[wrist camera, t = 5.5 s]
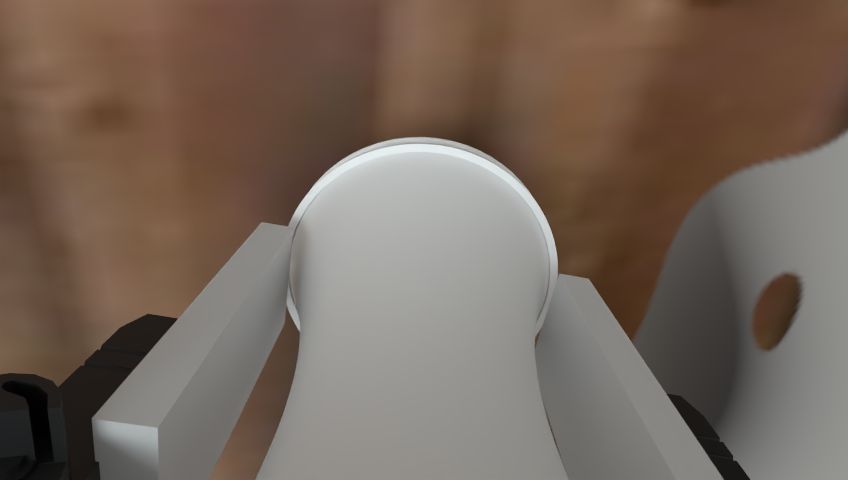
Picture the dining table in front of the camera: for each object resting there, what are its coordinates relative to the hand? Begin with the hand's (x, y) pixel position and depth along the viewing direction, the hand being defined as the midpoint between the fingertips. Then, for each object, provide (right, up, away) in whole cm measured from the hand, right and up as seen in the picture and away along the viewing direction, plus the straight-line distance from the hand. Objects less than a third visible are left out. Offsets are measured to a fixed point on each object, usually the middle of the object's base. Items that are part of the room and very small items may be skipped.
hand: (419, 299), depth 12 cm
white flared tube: (0, +1, +2) cm, 2 cm away
